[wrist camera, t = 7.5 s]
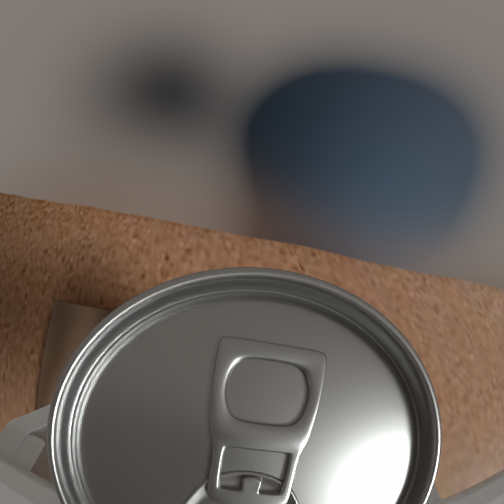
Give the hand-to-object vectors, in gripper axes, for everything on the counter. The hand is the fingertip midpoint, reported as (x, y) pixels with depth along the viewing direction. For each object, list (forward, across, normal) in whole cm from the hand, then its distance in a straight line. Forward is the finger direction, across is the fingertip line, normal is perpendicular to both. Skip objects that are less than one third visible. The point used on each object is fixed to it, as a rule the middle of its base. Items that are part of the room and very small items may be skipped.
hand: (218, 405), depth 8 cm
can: (+4, 0, +5) cm, 6 cm away
